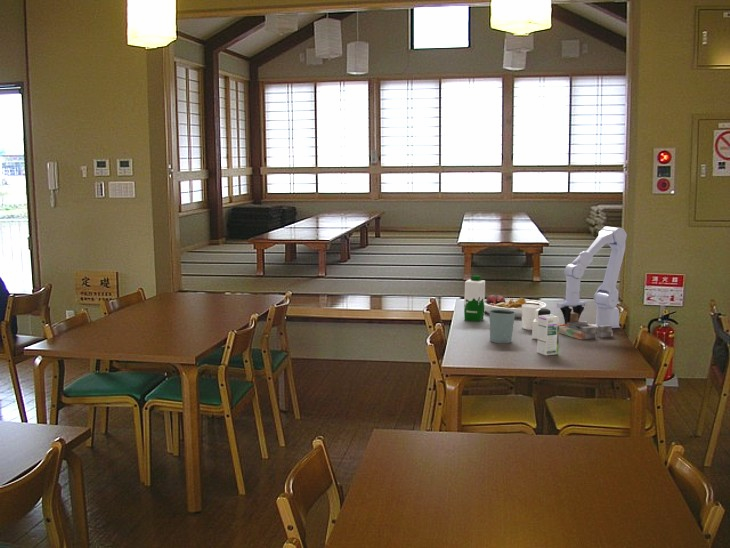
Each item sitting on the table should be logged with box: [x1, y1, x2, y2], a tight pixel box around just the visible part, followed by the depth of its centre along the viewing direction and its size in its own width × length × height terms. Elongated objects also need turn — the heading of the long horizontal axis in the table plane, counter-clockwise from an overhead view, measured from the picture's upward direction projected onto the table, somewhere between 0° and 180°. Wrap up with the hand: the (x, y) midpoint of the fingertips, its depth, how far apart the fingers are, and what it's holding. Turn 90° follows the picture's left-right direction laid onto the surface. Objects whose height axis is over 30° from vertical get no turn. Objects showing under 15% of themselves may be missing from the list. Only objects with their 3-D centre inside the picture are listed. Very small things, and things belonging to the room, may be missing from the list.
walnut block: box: [564, 311, 578, 327], centre depth 348 cm, size 4×4×6 cm
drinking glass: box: [488, 310, 516, 344], centre depth 324 cm, size 10×10×12 cm
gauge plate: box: [559, 320, 589, 331], centre depth 342 cm, size 15×7×4 cm, turn 114°
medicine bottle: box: [531, 308, 551, 340], centre depth 331 cm, size 7×7×12 cm
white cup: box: [521, 304, 540, 331], centre depth 350 cm, size 8×8×10 cm
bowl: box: [484, 294, 547, 319], centre depth 387 cm, size 30×30×8 cm
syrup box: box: [536, 313, 560, 356], centre depth 303 cm, size 6×6×14 cm
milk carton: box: [463, 274, 486, 323], centre depth 367 cm, size 9×9×20 cm
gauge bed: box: [559, 323, 614, 340], centre depth 345 cm, size 17×28×5 cm, turn 24°
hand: (571, 323), depth 349 cm, fingers closed on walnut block, 4 cm apart
